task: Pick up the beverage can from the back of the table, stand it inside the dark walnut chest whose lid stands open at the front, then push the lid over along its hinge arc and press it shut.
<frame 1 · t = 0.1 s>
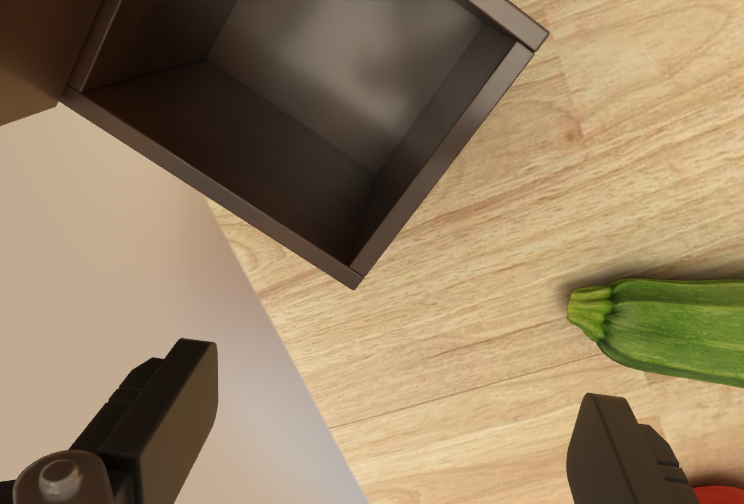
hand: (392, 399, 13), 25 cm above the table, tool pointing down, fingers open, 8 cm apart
chest: (342, 40, 34), on the table
vegetable: (712, 305, 39), on the table
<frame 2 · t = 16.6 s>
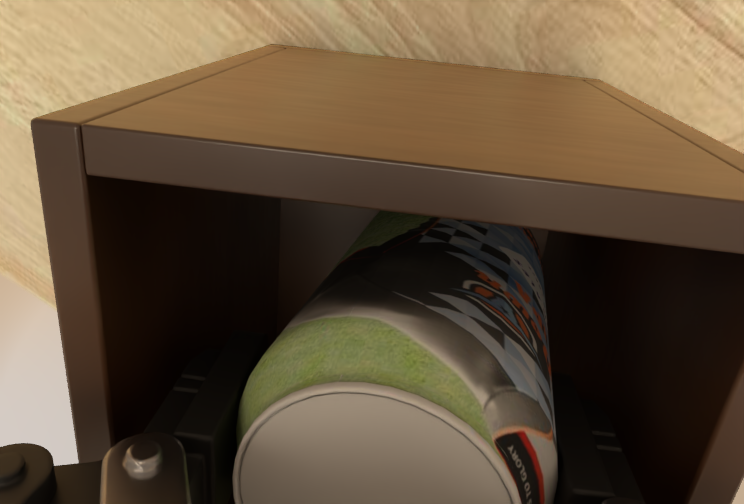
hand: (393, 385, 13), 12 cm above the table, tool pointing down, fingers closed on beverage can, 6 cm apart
chest: (410, 233, 24), on the table
beverage can: (426, 251, 20), point 4 cm above the table, touching gripper
when the fingers open (13 cm above the table, at t = 24.3 s): beverage can drops 4 cm, resting on chest.
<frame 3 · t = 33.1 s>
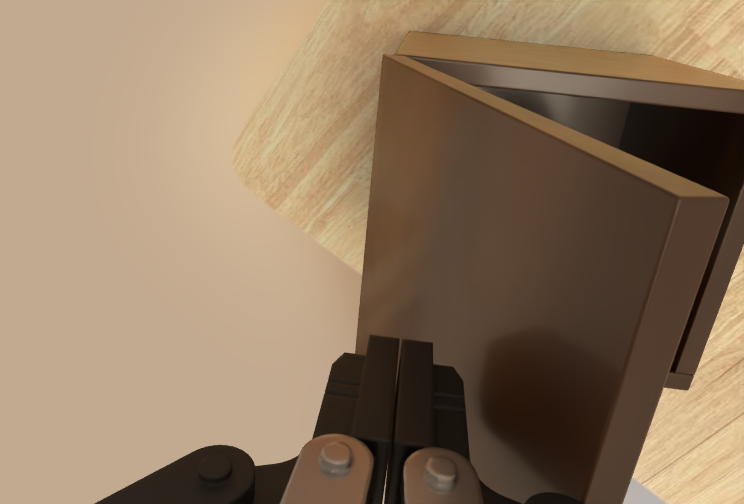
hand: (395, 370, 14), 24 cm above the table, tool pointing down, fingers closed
lid: (441, 320, 16), point 22 cm above the table, hinge at 71.2°
chest: (509, 148, 35), on the table
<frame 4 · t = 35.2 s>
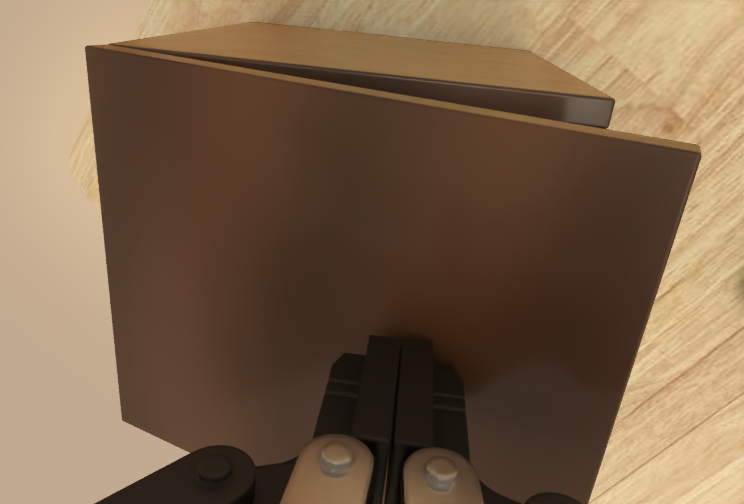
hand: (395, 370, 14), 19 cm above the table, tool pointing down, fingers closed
lid: (321, 325, 15), point 17 cm above the table, hinge at 20.4°, touching gripper
chest: (377, 157, 31), on the table
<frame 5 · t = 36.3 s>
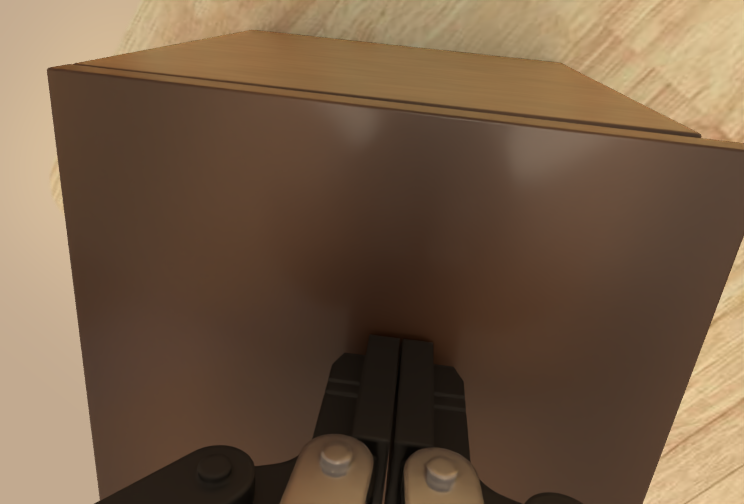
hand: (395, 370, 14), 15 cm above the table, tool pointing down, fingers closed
lid: (368, 356, 14), point 15 cm above the table, hinge at 1.8°, touching gripper
chest: (390, 179, 28), on the table
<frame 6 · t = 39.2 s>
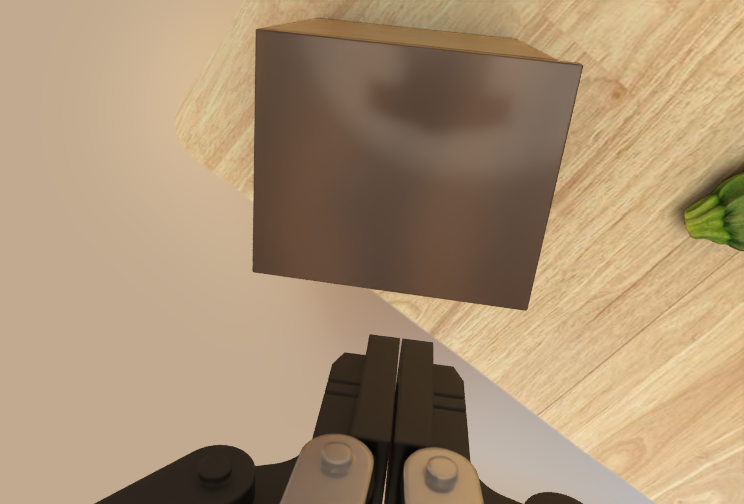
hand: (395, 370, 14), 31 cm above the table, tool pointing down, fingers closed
lid: (401, 177, 29), point 15 cm above the table, hinge at 1.8°
chest: (405, 118, 42), on the table
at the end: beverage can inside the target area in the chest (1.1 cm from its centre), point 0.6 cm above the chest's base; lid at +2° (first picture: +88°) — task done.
